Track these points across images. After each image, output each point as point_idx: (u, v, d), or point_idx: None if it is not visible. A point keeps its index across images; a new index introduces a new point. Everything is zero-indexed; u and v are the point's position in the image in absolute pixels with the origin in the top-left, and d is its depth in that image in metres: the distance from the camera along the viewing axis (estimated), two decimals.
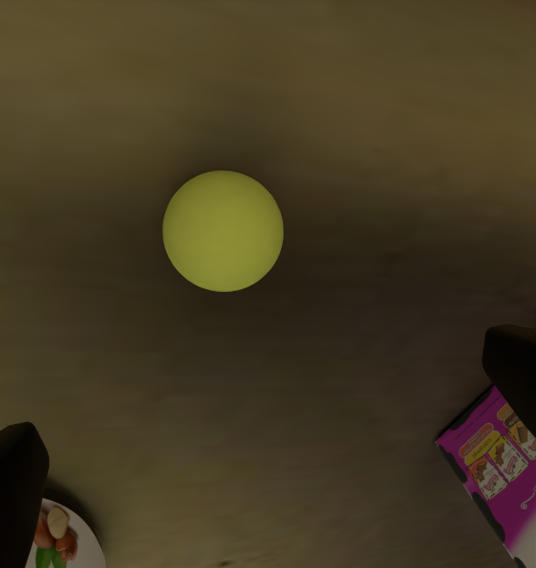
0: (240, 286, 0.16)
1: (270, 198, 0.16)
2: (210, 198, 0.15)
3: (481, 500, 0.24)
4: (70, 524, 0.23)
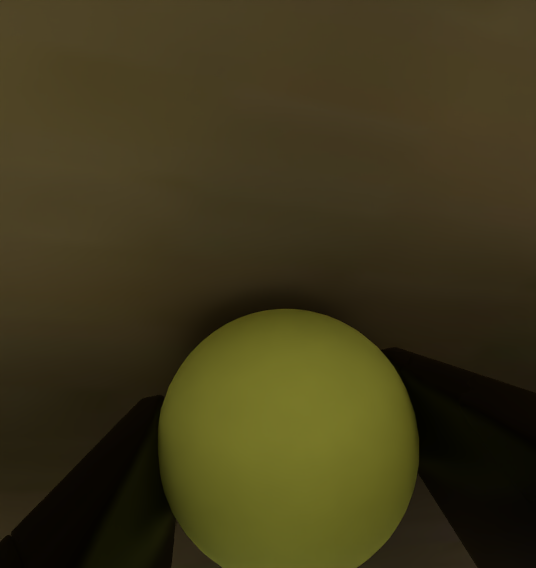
0: None
1: (398, 383, 0.07)
2: (272, 419, 0.06)
3: None
4: None
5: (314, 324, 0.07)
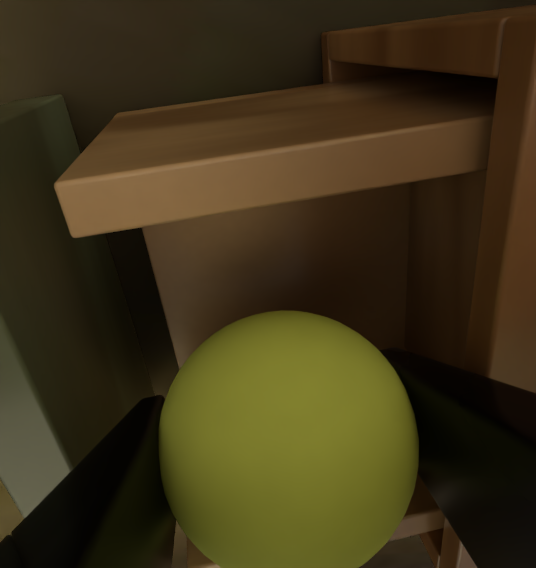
0: None
1: (397, 385, 0.07)
2: (272, 421, 0.06)
3: None
4: None
5: (314, 326, 0.07)
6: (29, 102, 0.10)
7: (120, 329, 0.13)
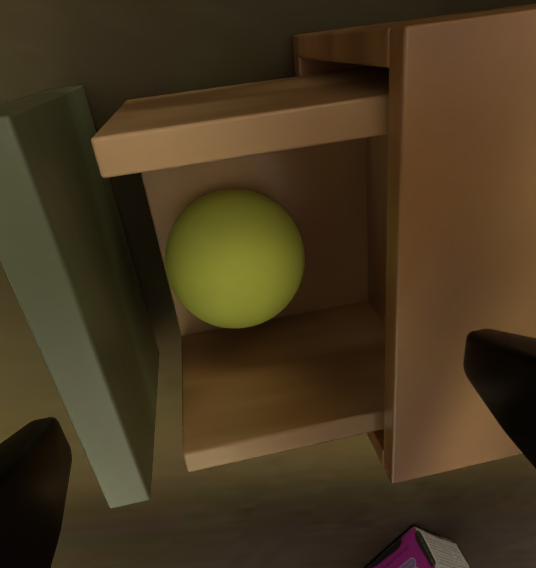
0: (254, 324, 0.14)
1: (290, 222, 0.14)
2: (219, 223, 0.12)
3: None
4: None
5: (247, 192, 0.14)
6: (59, 90, 0.13)
7: (128, 278, 0.16)
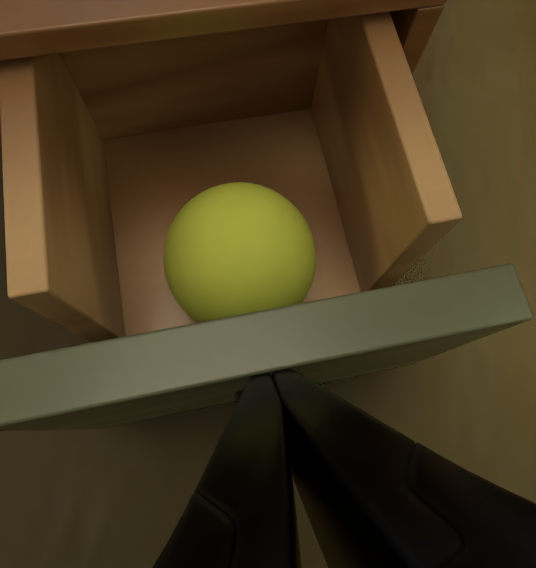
0: (300, 252, 0.12)
1: (188, 206, 0.12)
2: (181, 290, 0.12)
3: None
4: None
5: None
6: None
7: None
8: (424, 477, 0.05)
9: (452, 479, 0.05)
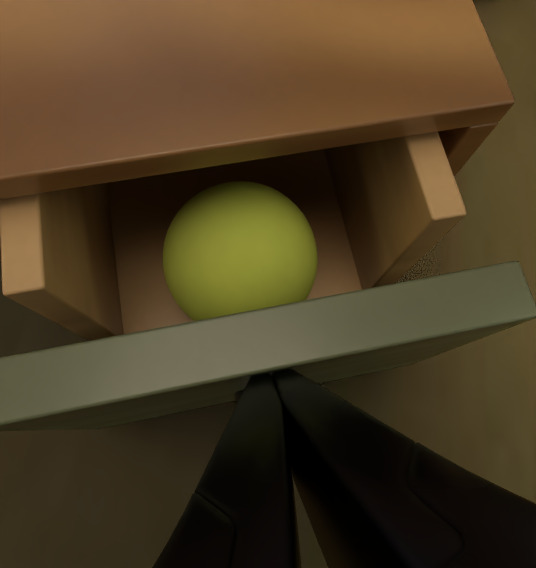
0: (302, 254, 0.12)
1: (188, 206, 0.12)
2: (180, 292, 0.12)
3: None
4: None
5: None
6: None
7: None
8: (424, 477, 0.05)
9: (451, 480, 0.05)
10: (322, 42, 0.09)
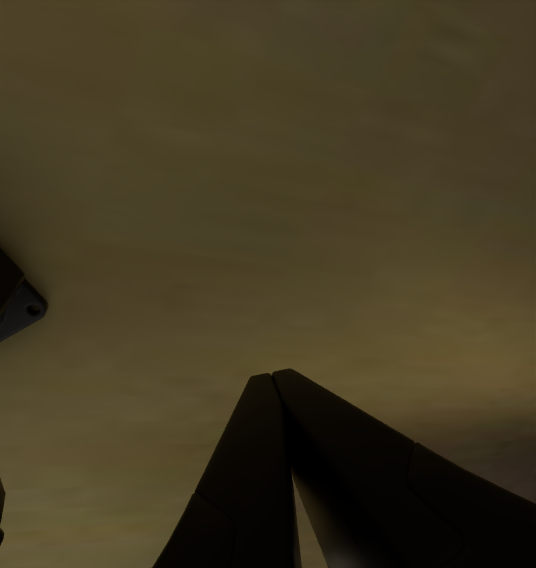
0: None
1: None
2: None
3: None
4: None
5: None
6: None
7: None
8: (424, 477, 0.05)
9: (452, 480, 0.05)
10: None
